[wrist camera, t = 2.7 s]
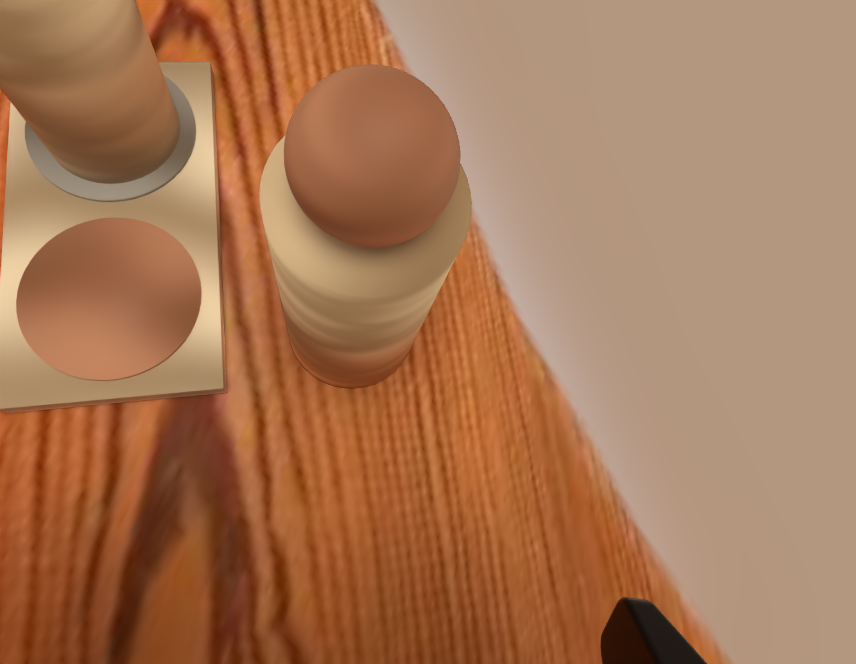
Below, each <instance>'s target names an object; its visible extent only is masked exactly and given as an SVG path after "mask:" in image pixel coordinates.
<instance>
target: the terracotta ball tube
mask: <svg viewBox="0 0 856 664" xmlns="http://www.w3.org/2000/svg"><path fill="white" fill-rule="evenodd" d="M260 207H261V213H262V219H263V223H264V228H265V232H266V237H267V241H268V246H269V250H270V255H271V259H272V264H273V268H274V273H275V277H276V281H277V286H278V290H279V295H280V299H281V304H282V308H283V313H284V317H285V322H286V326H287V331H288V335H289V340H290V343H291V347H292V350H293V352H294V354H295V356H296V358H297V359H298V361H299V362H300V364H301V365H302V366H303V367H304V368H305V369H306V370H307V371H308V372H309V373H310V374H311V375H313V376H314V377H316V378H317V379H319V380H320V381H322V382H325V383H327V384H330V385H332V386H336V387H341V388H362V387H367V386H370V385H373V384H376V383H378V382H380V381H382V380H384V379H386V378H387V377H389V376H390V375H391V374H392V373H394V372H395V371H396V370H397V369H398V368H399V367H400V365H401V364H402V363H403V361H404V360H405V358H406V356H407V354H408V352H409V350H410V348H411V346H412V344H413V342H414V340H415V338H416V336H417V334H418V332H419V330H420V328H421V326H422V324H423V322H424V320H425V318H426V316H427V314H428V312H429V310H430V308H431V306H432V304H433V302H434V300H435V298H436V296H437V294H438V292H439V290H440V288H441V286H442V284H443V282H444V280H445V278H446V276H447V274H448V272H449V270H450V268H451V266H452V264H453V262H454V260H455V258H456V256H457V254H458V252H459V250H460V248H461V246H462V244H463V242H464V240H465V238H466V235H467V232H468V229H469V225H470V219H471V207H472V201H471V193H470V188H469V184H468V180H467V177H466V174H465V172H464V170H463V167H462V165H461V164H460V146H459V140H458V135H457V132H456V128H455V125H454V123H453V121H452V118H451V116H450V114H449V112H448V111H447V109H446V107H445V105H444V104H443V103H442V101H441V100H440V99H439V97H438V96H437V95H436V94H435V93H434V92H433V91H432V90H431V89H430V88H429V87H428V86H426V85H425V84H424V83H423V82H421V81H420V80H419V79H417V78H416V77H414V76H412V75H410V74H408V73H406V72H404V71H401V70H399V69H396V68H392V67H388V66H382V65H357V66H352V67H348V68H345V69H342V70H339V71H337V72H335V73H333V74H330V75H328V76H327V77H325V78H323V79H322V80H320V81H319V82H318V83H317V84H315V85H314V86H313V87H312V88H311V89H310V90H309V91H308V92H307V93H306V94H305V96H304V97H303V98H302V99H301V101H300V102H299V104H298V105H297V107H296V109H295V110H294V112H293V114H292V117H291V119H290V121H289V124H288V128H287V132H286V135H285V136H284V137H283V138H282V139H281V140H280V141H279V143H278V144H277V145H276V147H275V148H274V150H273V151H272V153H271V154H270V156H269V158H268V161H267V163H266V165H265V168H264V171H263V174H262V178H261V185H260Z"/></svg>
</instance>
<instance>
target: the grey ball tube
mask: <svg viewBox="0 0 856 664" xmlns="http://www.w3.org/2000/svg"><path fill="white" fill-rule="evenodd" d="M0 89H1V90H2V91H3V92H4V94H5V95H6V96H7V98H8V99H9V100H10V102H11V103H12V104H13V105H14V107H15V108H16V109H17V111H18V112H19V113H20V114H21V116H22V117H23V118H24V120H25V121H26V122H27V124H28V125H29V126H30V127H31V129H32V130H33V131H34V133H35V134H36V135H37V136H38V138H39V139H40V140H41V142H42V143H43V144H44V146H45V147H46V148H47V149H48V151H49V152H50V153H51V155H52V156H53V157H54V158H55V160H56V161H57V162H58V163H59V164H60V165H61V166H62V167H63V168H64V169H66V170H67V171H69V172H70V173H72V174H73V175H75V176H77V177H79V178H82V179H85V180H88V181H91V182H96V183H104V184H117V183H125V182H130V181H134V180H137V179H140V178H142V177H144V176H146V175H148V174H150V173H152V172H153V171H155V170H157V169H158V168H159V167H160V166H161V165H163V164H164V163H165V162H166V160H167V159H168V158H169V157H170V155H171V154H172V153H173V151H174V149H175V147H176V145H177V142H178V139H179V133H180V122H179V116H178V113H177V110H176V107H175V105H174V102H173V99H172V97H171V94H170V91H169V89H168V86H167V83H166V81H165V78H164V75H163V73H162V70H161V67H160V65H159V62H158V59H157V57H156V54H155V51H154V49H153V46H152V43H151V41H150V38H149V36H148V33H147V30H146V28H145V25H144V22H143V20H142V17H141V14H140V12H139V9H138V6H137V4H136V1H135V0H0Z"/></svg>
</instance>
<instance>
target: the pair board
mask: <svg viewBox="0 0 856 664" xmlns="http://www.w3.org/2000/svg"><path fill="white" fill-rule="evenodd" d="M159 65H160V67H161V70H162V73H163V75H164V78H165V81H166V83H167V86H168V89H169V91H170V94H171V97H172V99H173V102H174V105H175V107H176V110H177V113H178V116H179V122H180V133H179V139H178V142H177V145H176V147H175V149H174V151H173V153H172V154H171V155H170V157H169V158H168V159H167V160H166V162H165V163H164V164H163V165H161V166H160V167H159V168H158V169H157V170H155V171H153V172H152V173H150V174H148V175H146V176H144V177H142V178H140V179H137V180H134V181H130V182H125V183H117V184H104V183H96V182H91V181H88V180H85V179H82V178H79V177H77V176H75V175H73V174H72V173H70V172H69V171H67V170H66V169H64V168H63V167H62V166H61V165H60V164H59V163H58V162H57V161H56V160H55V158H54V157H53V156H52V155H51V153H50V152H49V151H48V149H47V148H46V147H45V146H44V144H43V143H42V142H41V140H40V139H39V138H38V136H37V135H36V134H35V133H34V131H33V130H32V129H31V127H30V126H29V125H28V124H27V122H26V121H25V120H24V118H23V117H22V116H21V114H20V113H19V112H18V111H17V109H16V108H15V107H14V105H13V104H12V103H10V121H9V138H8V156H7V174H6V191H5V209H4V226H3V244H2V262H1V279H0V412H3V413H15V412H26V411H37V410H47V409H58V408H69V407H80V406H90V405H101V404H112V403H122V402H133V401H144V400H154V399H165V398H176V397H187V396H197V395H208V394H219V393H227V379H226V356H225V332H224V308H223V284H222V261H221V237H220V213H219V190H218V166H217V142H216V118H215V95H214V75H213V71H212V67H211V63H210V62H159Z"/></svg>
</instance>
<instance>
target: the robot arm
mask: <svg viewBox="0 0 856 664" xmlns="http://www.w3.org/2000/svg"><path fill="white" fill-rule="evenodd" d="M601 656H602V663H603V664H707V663H706V662H705V661H704V659H703V658H702V657H701V656H700V655H699V654H698V653H697V652H696V650H695V649H694V648H693V647H692V646H691V645H690V644H689V643H688V642H687V640H686V639H685V638H684V637H683V636H682V635H681V634H680V633H679V631H678V630H677V629H676V628H675V627H674V626H673V625H672V624H671V623H670V621H669V620H668V619H667V618H666V617H665V616H664V615H663V614H662V613H661V611H660V610H659V609H658V608H657V607H656V606H655V605H654V604H653V603H652V602H650V601H648V600H645V599H638V598H629V597H623V598H622V599H620V600H619V601H618V602H617V604H616V606H615V608H614V610H613V612H612V614H611V616H610V618H609V620H608V622H607V624H606V626H605V628H604V630H603V633H602V636H601Z"/></svg>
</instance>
